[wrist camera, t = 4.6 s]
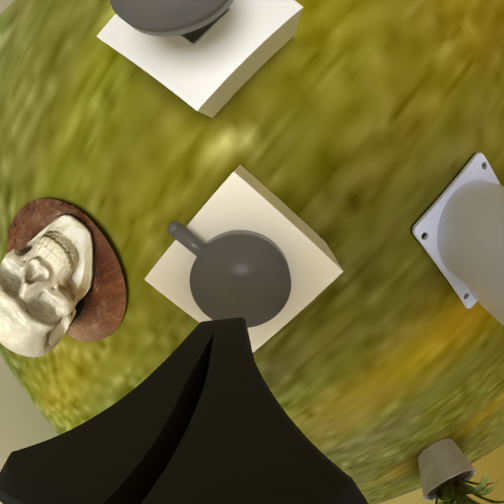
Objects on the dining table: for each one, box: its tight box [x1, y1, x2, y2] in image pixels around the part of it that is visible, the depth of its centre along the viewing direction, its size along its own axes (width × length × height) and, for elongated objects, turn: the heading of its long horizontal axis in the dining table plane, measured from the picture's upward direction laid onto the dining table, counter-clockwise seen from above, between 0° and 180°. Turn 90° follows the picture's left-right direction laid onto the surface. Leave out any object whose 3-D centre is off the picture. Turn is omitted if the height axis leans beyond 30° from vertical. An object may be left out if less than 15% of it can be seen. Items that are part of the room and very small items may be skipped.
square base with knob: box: [97, 0, 303, 118], centre depth 13 cm, size 7×7×4 cm
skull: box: [0, 199, 126, 357], centre depth 19 cm, size 12×10×10 cm
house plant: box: [418, 438, 504, 504], centre depth 20 cm, size 14×14×16 cm
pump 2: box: [168, 221, 291, 328], centre depth 16 cm, size 6×5×4 cm
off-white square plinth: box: [144, 165, 343, 352], centre depth 17 cm, size 7×7×4 cm
